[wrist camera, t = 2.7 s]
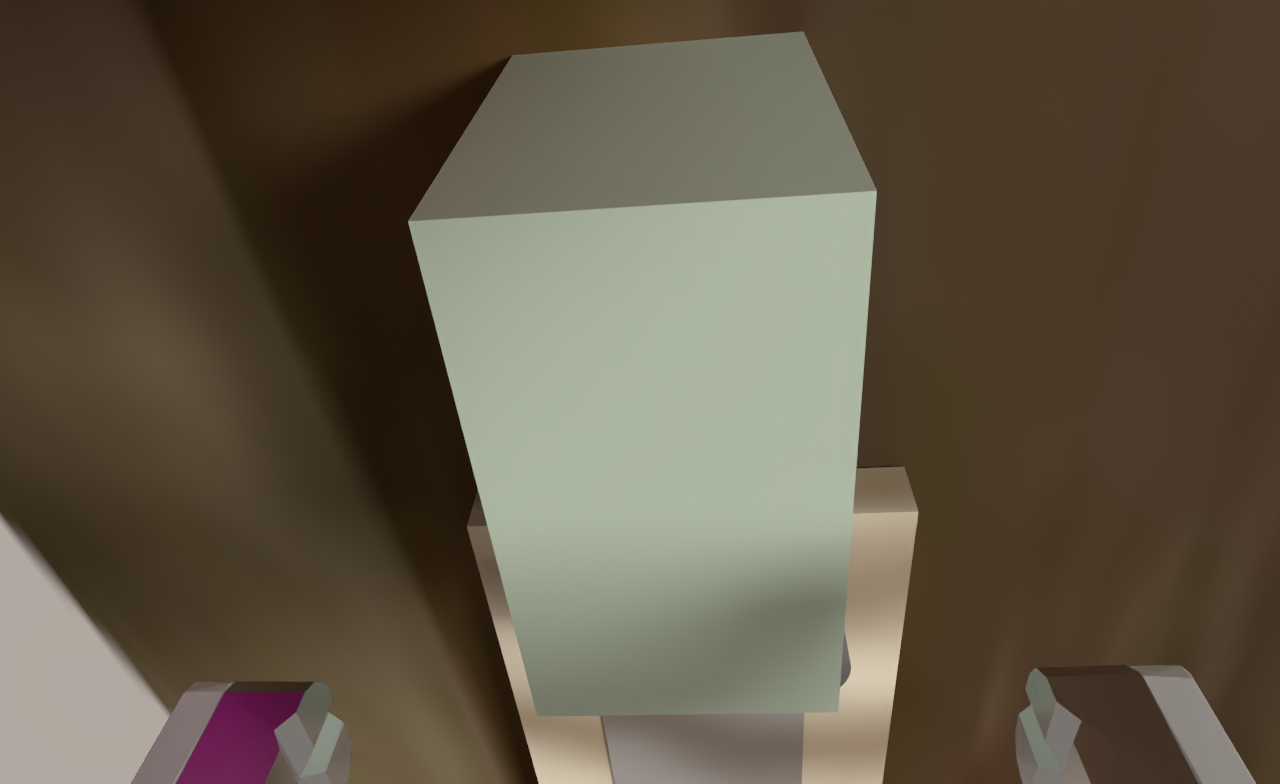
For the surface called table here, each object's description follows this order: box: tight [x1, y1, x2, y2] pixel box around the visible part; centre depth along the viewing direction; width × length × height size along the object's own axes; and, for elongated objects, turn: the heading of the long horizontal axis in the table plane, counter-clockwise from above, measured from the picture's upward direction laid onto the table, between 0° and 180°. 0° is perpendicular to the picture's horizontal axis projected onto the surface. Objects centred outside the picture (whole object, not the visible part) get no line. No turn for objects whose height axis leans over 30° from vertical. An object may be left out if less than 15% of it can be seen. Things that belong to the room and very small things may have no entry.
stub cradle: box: [467, 467, 918, 784], centre depth 23 cm, size 16×10×4 cm, turn 5°
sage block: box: [408, 32, 877, 717], centre depth 15 cm, size 9×5×7 cm, turn 5°
